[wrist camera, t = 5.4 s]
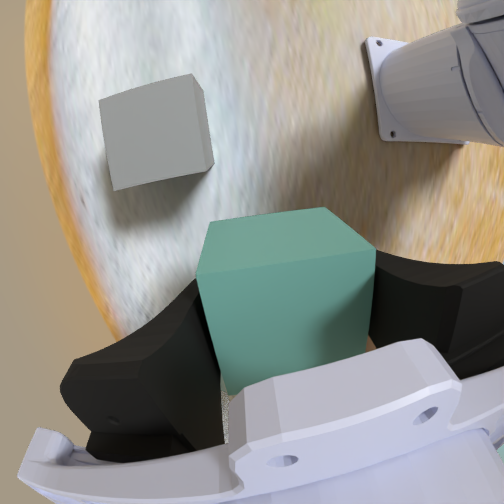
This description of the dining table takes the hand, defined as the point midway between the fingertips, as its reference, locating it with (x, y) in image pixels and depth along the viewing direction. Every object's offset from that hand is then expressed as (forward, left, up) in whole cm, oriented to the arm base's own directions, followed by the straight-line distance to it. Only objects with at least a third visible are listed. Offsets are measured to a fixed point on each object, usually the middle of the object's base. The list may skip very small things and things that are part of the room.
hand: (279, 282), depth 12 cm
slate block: (+5, -7, -8) cm, 12 cm away
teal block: (0, 0, -2) cm, 2 cm away
